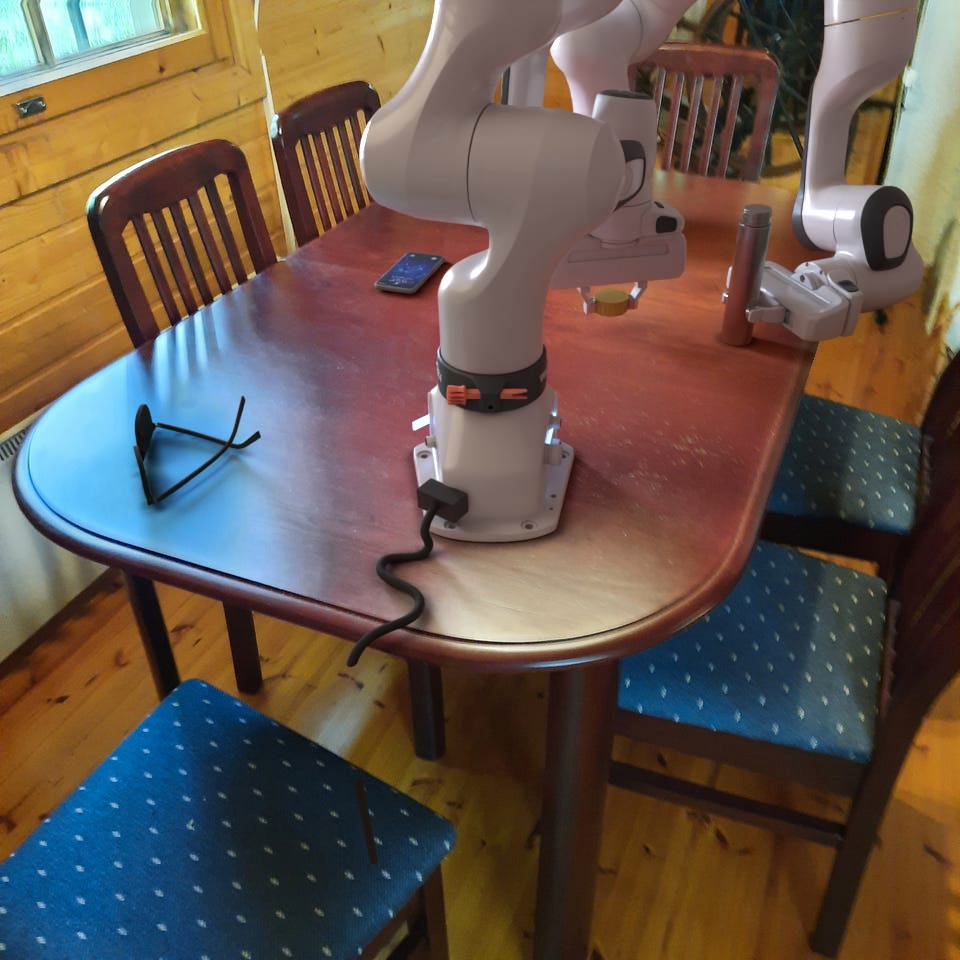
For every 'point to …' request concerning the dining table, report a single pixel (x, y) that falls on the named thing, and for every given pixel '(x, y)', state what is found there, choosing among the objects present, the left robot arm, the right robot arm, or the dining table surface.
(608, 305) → the lid
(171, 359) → the dining table surface
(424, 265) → the smartphone
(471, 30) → the left robot arm
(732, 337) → the grey metal cylinder
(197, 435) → the sunglasses
